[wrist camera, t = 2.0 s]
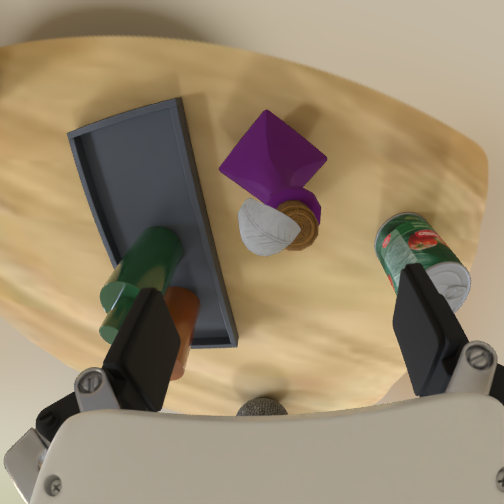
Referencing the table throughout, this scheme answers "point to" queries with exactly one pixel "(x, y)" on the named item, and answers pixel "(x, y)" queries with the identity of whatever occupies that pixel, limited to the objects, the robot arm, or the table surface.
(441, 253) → the canned tomato
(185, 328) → the amber bottle
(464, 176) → the table surface
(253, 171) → the perfume bottle
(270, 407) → the decorative ball
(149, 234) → the green bottle
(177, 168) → the tray
